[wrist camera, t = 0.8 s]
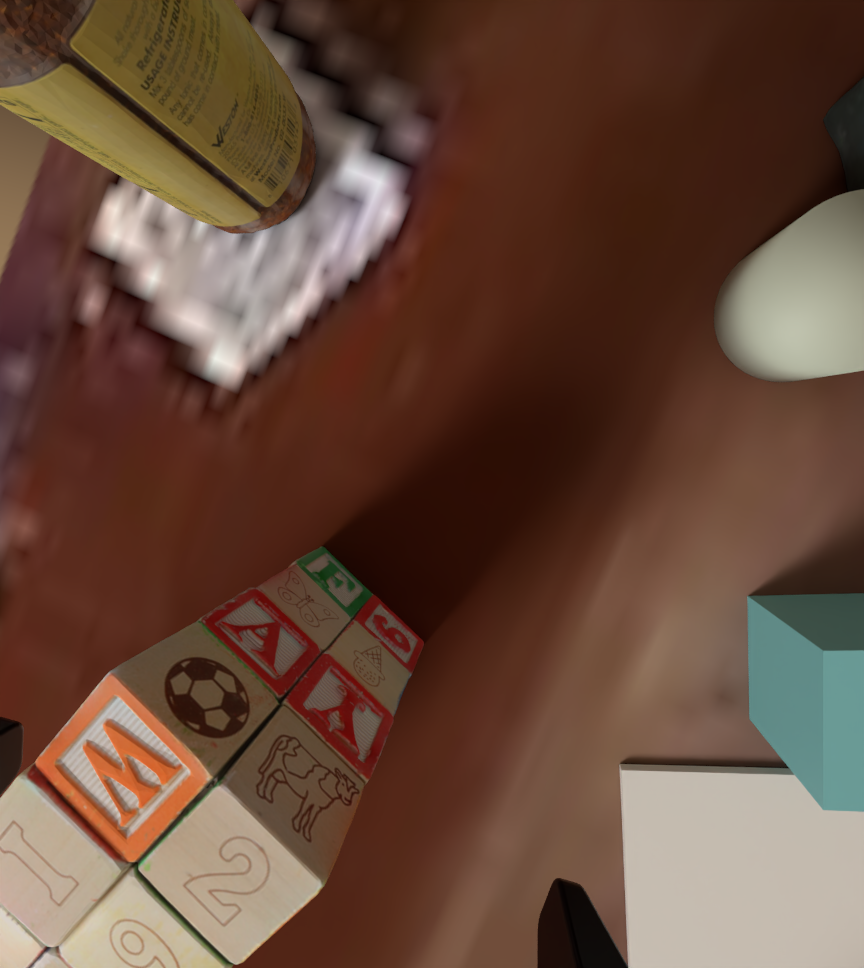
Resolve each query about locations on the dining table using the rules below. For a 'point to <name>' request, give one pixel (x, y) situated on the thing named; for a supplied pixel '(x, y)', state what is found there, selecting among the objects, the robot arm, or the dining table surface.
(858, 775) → the teal block
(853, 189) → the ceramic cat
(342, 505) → the dining table surface
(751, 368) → the pale green rounded piece
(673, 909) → the white mat
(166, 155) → the sauce bottle
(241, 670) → the stack of blocks
